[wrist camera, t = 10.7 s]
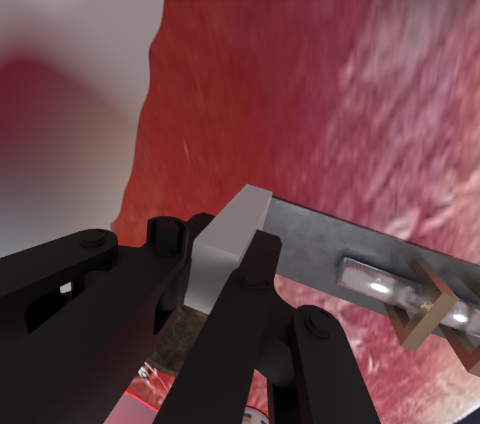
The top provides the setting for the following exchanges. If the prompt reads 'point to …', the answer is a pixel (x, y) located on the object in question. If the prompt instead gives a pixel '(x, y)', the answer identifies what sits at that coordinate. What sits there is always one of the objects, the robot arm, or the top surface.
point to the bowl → (177, 340)
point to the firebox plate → (381, 257)
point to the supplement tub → (254, 417)
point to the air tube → (403, 294)
